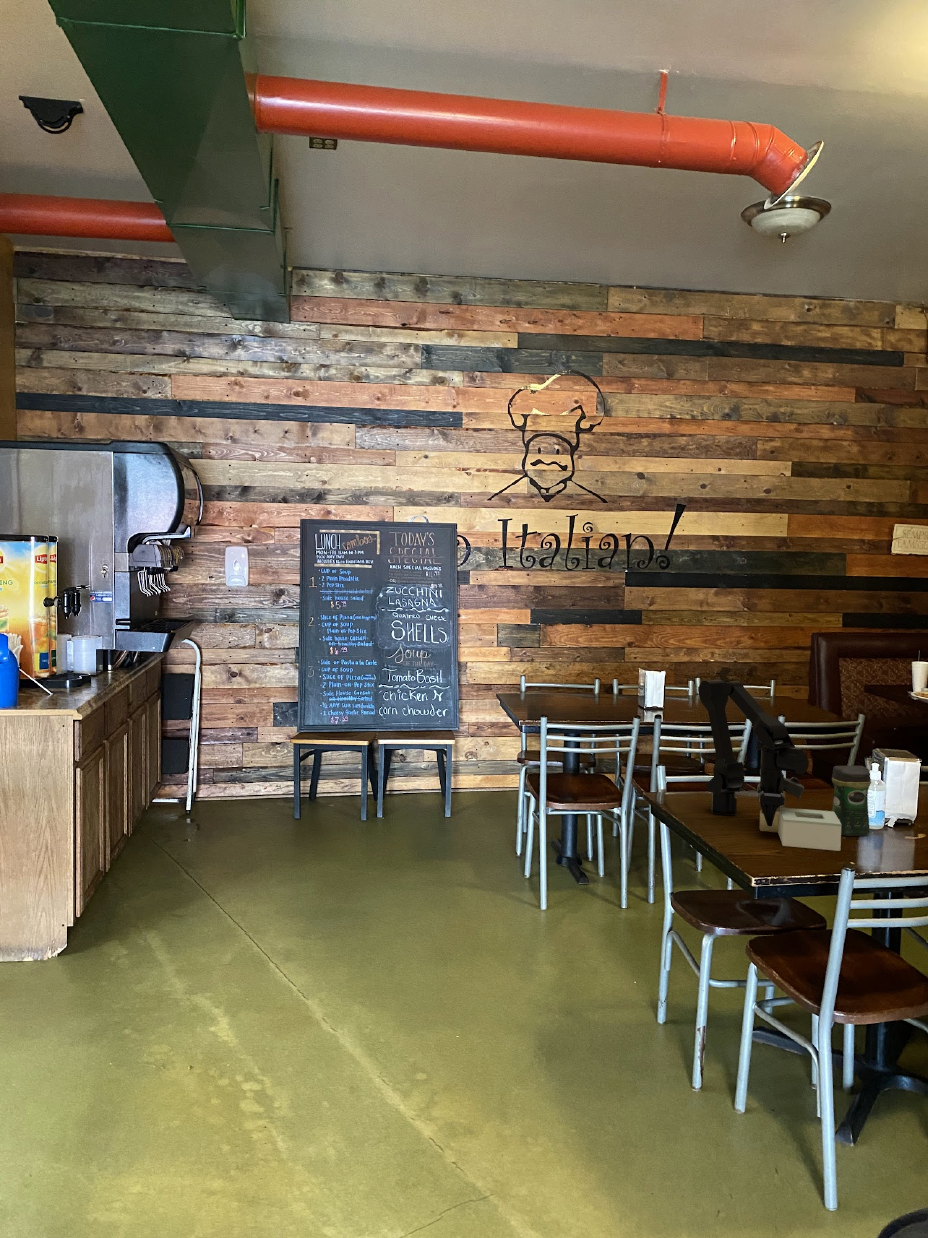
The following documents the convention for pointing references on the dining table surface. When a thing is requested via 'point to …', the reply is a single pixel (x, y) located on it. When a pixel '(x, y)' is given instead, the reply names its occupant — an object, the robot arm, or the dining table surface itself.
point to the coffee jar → (851, 799)
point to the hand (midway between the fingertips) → (769, 824)
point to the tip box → (809, 829)
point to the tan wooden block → (764, 825)
